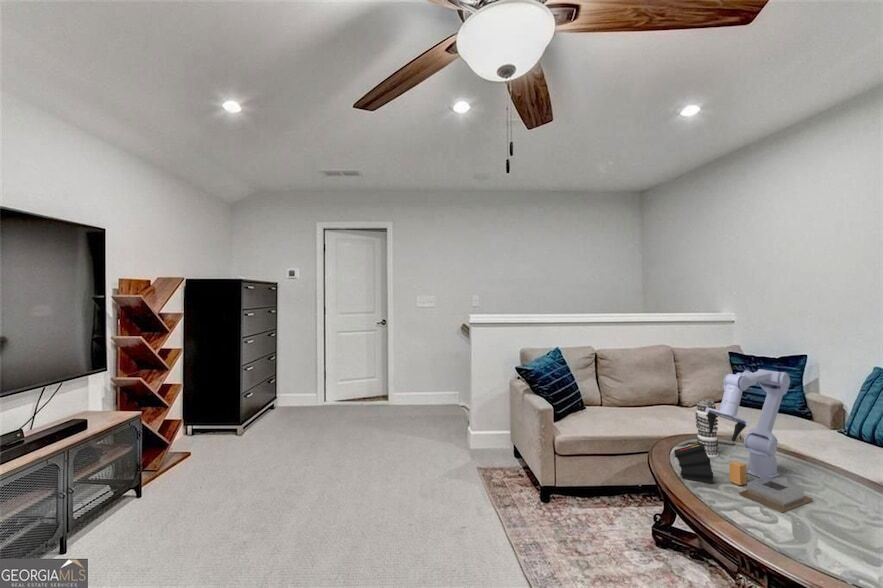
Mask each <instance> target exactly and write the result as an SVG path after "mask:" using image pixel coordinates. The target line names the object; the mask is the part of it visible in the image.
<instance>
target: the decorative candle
mask: <svg viewBox="0 0 883 588" xmlns="http://www.w3.org/2000/svg"><path fill="white" fill-rule="evenodd" d="M695 404H696V412H695V415H694V416H695V426H696V429H697V437H696V442H697V443H696V444H699V443H701V444H702V445H704V447H705V451H706V453H707V456H708V457H709V458H717V457H719V452H720V451H719V448H720V447H719V439H718V435H717V432H718V429H719V428H718V426H719V423H718V422H719V420H718V419H717V418H719V416H717V417H716V419H715V423H714V427H713V431H712V433H709V421H708V417H707V414H708V413H707V412H705V410H706V407H708V408H711V409H715V410H717V409H716V406H717V404H716V403H715V402H714V401H713V400H710V399H703V398H702V399H699V400H698V401H696V402H695Z"/></svg>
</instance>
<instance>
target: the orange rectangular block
mask: <svg viewBox="0 0 883 588" xmlns="http://www.w3.org/2000/svg"><path fill="white" fill-rule="evenodd" d="M747 470H748V469H747V464H746V463H743V462H741V461H738V460H733V461H730V462H729V482H731V483H734V485H736V486H738V485H739V486H743V485H747V482H748V478H747V477H748V473H747Z"/></svg>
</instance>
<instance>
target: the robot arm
mask: <svg viewBox="0 0 883 588" xmlns="http://www.w3.org/2000/svg"><path fill="white" fill-rule="evenodd" d="M757 383H759V386H760V388H761V389H762V390H763V391H764V392H765V393H766V396H765V400H764V403H763V405H762V409H761V411H760V412H761V413H760V416H759V417H758V422H757V424H756V427H754V428H751V429H750V428H749V430H748V431H747V434H746V435H745V436H744V438H743V445H744V448H746V449H747V452H749V469H747V474H749V475H752V476H754V477H757V478H758V479H760V478H763V477H766V476H768V477H771V478H775V477H776V478H777V477H779V476H780V473H779V472H778V464H777V463H778V460H777V457H776V455H775V454H776V453H777V451H778V446H777V445H778V441H779V440H778V439H777V437H776V436H775V435H774V434H773V429H774V425H775V423H776V420H777V416H778V412H779V409H780V406H781V403H782V400H783V396H784V395H786V394H787V393H788V390H789V387H790V385H791V378H790V375H789V373H787V372H786V371H776V370H768V369H765V368H764V369H763V368H760V369H757V371H754V372H752V371H750V370H743V372H737V373H736V374H735V373H734V374H733V373H728V374H727V375H725V376H724V378H723V390H724V392H723V395H722V398H721V399H722V400H721V402H720V405H719V406H720V407H719V410H718V409H716V410H715V409H711V408H708V407H706V410H705V412H707V413H708V414H707V417H708V421H709V433H712V431H713V427H714V423H715V419H717V418H723V419H725V420H728V421H732V422H735V425H734V430H733V434H732V437H731V442H736V440H737V438H738V436H739V435H740V433H741V432H742V431H743V430H745V428H746V427H749V426H750V424H751V421H750V420H747V419H745V418H742V417H739V416H738V415H737V414H738V412H739V409H740V408H739V407H740V403H741V400H742V395H743V392H744V391H746V390H747V389H748V388H749V387H751V386H755V385H756V384H757ZM717 416H718V417H717ZM716 417H717V418H716Z"/></svg>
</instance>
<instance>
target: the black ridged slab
mask: <svg viewBox="0 0 883 588" xmlns="http://www.w3.org/2000/svg"><path fill="white" fill-rule="evenodd" d="M673 453H674V457H675V458H677V461H678V463H679V465H678V466H679V467H680V476H681V479H683V480H686V481H687V480H688V481H693V482H700V483H704V484H712V485H713V484H714V480H713V479H714V472H713V471H712V465H711V457H708V456H707V453H706V451H705V447H704V445H702V444H701V443H699V444H698V443H696V444H692V445H689V446H685V447H681V448H677V449H674V452H673Z"/></svg>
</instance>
